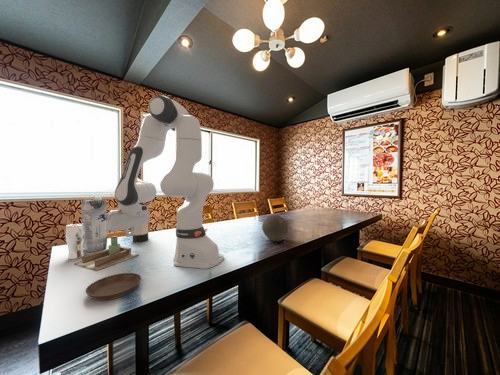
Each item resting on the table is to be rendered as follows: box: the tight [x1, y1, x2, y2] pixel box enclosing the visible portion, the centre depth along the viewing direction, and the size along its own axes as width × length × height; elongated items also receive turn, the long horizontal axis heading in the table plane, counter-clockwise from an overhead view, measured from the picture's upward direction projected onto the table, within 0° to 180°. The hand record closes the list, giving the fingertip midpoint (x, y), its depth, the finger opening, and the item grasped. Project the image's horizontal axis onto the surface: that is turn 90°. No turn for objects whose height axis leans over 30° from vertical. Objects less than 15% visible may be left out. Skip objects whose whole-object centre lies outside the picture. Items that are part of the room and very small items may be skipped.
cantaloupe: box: [261, 214, 289, 242], centre depth 115 cm, size 14×14×15 cm
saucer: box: [85, 272, 142, 301], centre depth 65 cm, size 15×15×3 cm
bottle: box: [108, 235, 121, 255], centre depth 93 cm, size 4×4×9 cm
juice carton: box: [80, 196, 108, 253], centre depth 104 cm, size 9×10×27 cm
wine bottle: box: [132, 202, 149, 243], centre depth 119 cm, size 8×8×30 cm
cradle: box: [73, 245, 140, 272], centre depth 90 cm, size 16×18×4 cm
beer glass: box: [65, 223, 86, 260], centre depth 93 cm, size 7×7×15 cm
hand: (129, 236), depth 100 cm, fingers closed
